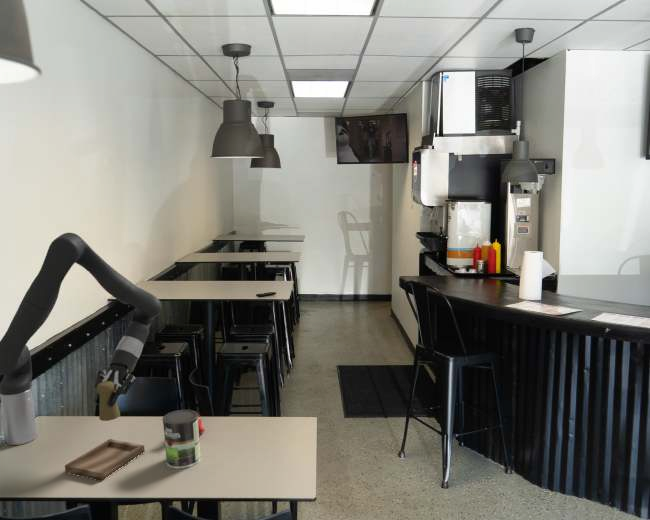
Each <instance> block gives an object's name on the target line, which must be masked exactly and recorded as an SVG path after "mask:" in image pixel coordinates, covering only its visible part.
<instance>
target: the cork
mask: <svg viewBox="0 0 650 520" xmlns="http://www.w3.org/2000/svg"><path fill="white" fill-rule="evenodd" d="M114 388H115V385H114V383H113V381H103V382H101V383H99V384H98V385H97V389H96V391H97V393H99V394H100V405H98V406H99V408H98V410H99V411H98V412H99V417H98V418H99V420H100V421H102V422H103V421H104V422H106V421H108V422H109V421H112V420H115V419H118V418H119V417H120V416H121V412H120V408H119V406H118V402H117V401H118V400H117V401H116V403H115V405H113V407H109V406H108V405H107V402H108V400H109V398H110V396H111V393H113V390H114Z"/></svg>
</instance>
